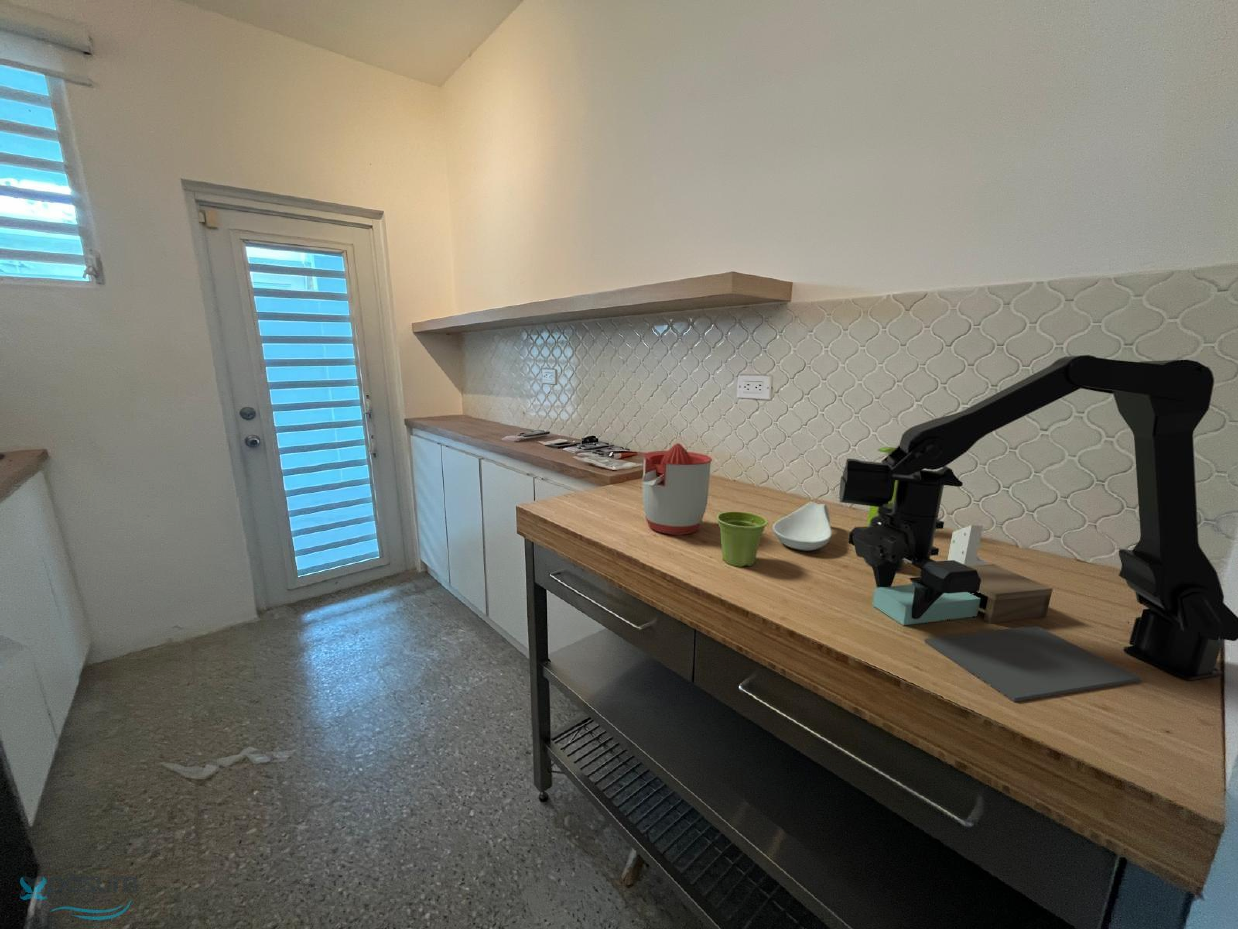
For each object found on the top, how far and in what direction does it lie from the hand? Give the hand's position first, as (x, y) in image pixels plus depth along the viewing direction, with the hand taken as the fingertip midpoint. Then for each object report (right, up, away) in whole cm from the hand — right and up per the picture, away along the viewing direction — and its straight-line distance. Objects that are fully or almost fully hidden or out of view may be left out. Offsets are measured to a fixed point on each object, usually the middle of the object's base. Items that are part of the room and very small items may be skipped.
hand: (898, 607), depth 71 cm
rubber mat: (+10, -4, -11) cm, 15 cm away
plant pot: (-20, +3, +19) cm, 27 cm away
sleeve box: (+17, -1, +4) cm, 18 cm away
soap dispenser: (+20, +6, +41) cm, 46 cm away
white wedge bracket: (+23, +1, +17) cm, 29 cm away
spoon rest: (-1, +5, +33) cm, 33 cm away
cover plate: (+5, -1, +1) cm, 5 cm away
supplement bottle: (+9, +2, +19) cm, 21 cm away
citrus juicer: (-31, +7, +36) cm, 48 cm away
